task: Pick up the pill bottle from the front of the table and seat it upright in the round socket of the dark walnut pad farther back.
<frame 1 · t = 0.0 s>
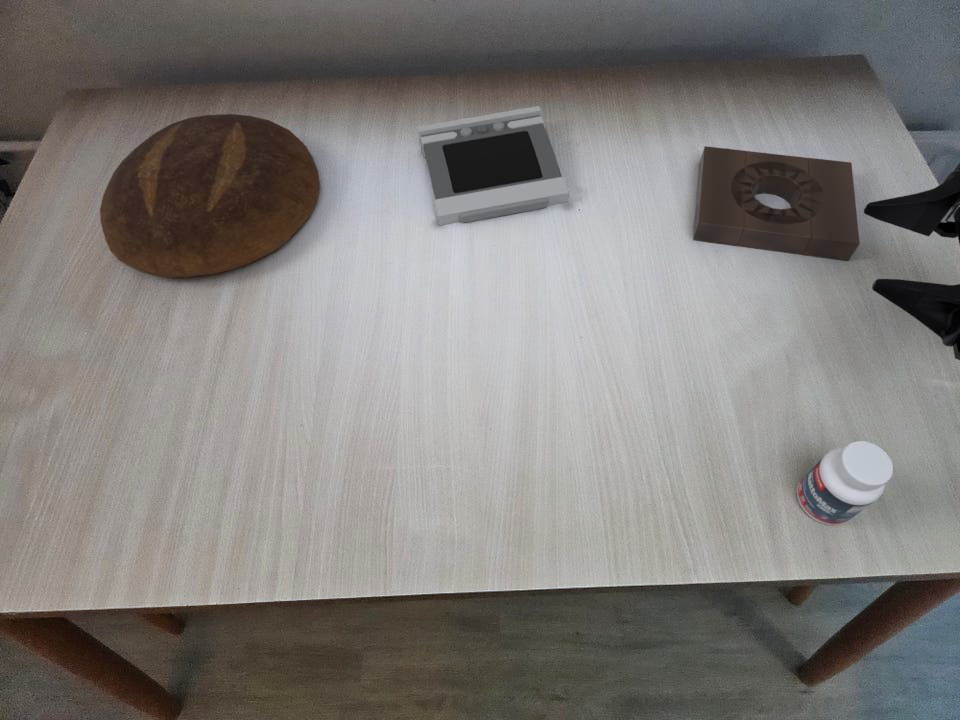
hand: (869, 244, 57), 16 cm above the table, tool horizontal, fingers open, 9 cm apart
pill bottle: (823, 500, 61), on the table
bread: (217, 210, 86), on the table
grey boxy piece: (491, 176, 87), on the table
socket pad: (769, 209, 81), on the table
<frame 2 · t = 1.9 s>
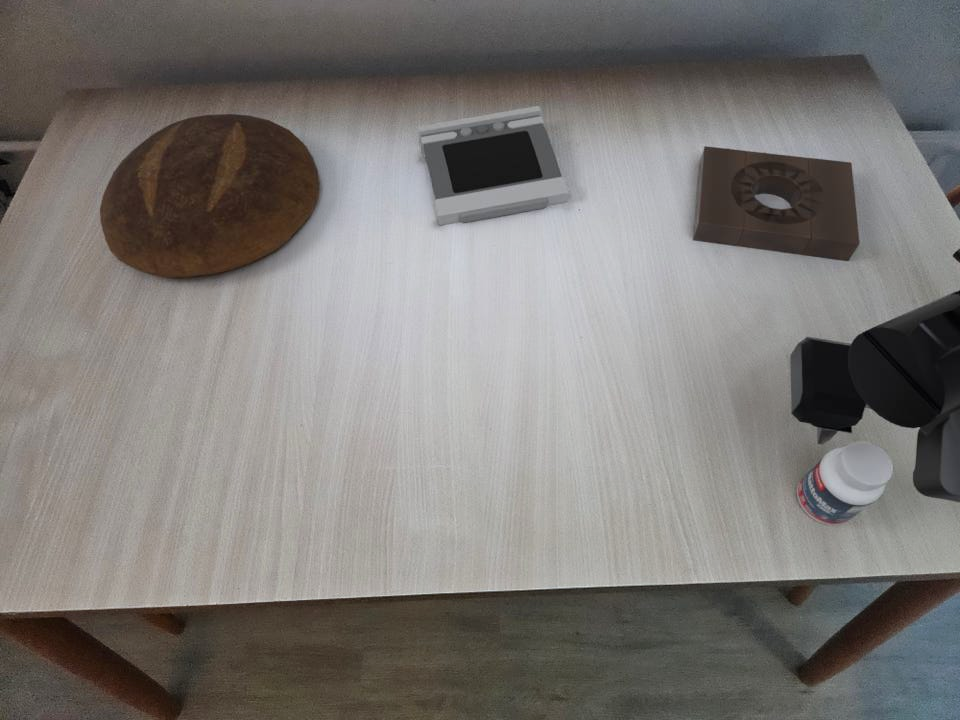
hand: (880, 450, 52), 11 cm above the table, tool pointing down, fingers open, 9 cm apart
nothing on the table moved.
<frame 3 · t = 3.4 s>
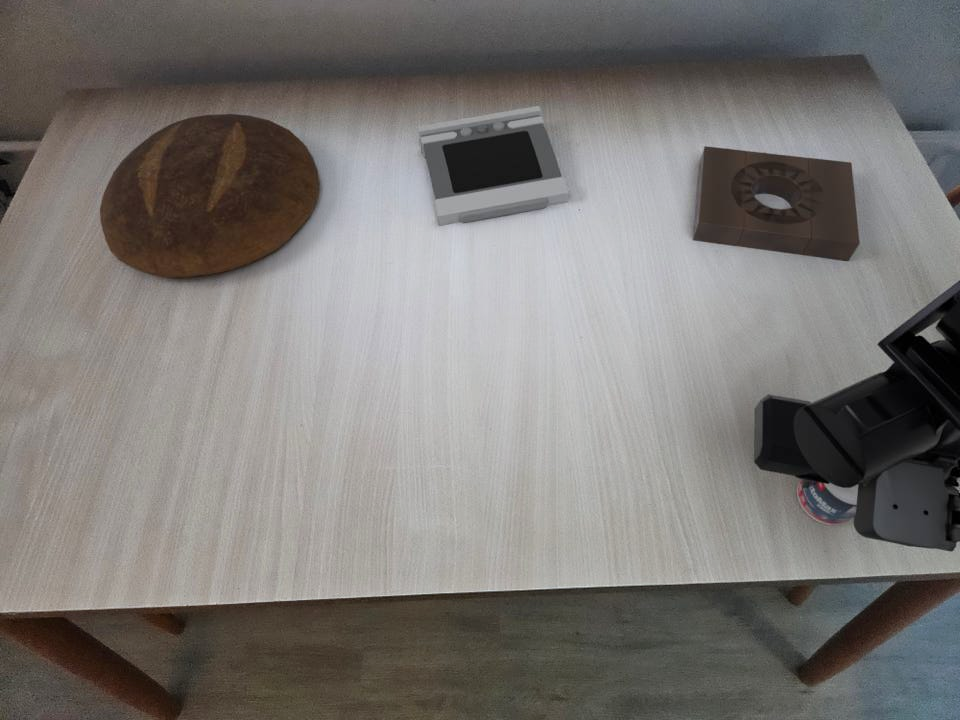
hand: (835, 489, 59), 3 cm above the table, tool pointing down, fingers closed on pill bottle, 5 cm apart
pill bottle: (823, 500, 61), on the table, touching gripper
everything else where it was.
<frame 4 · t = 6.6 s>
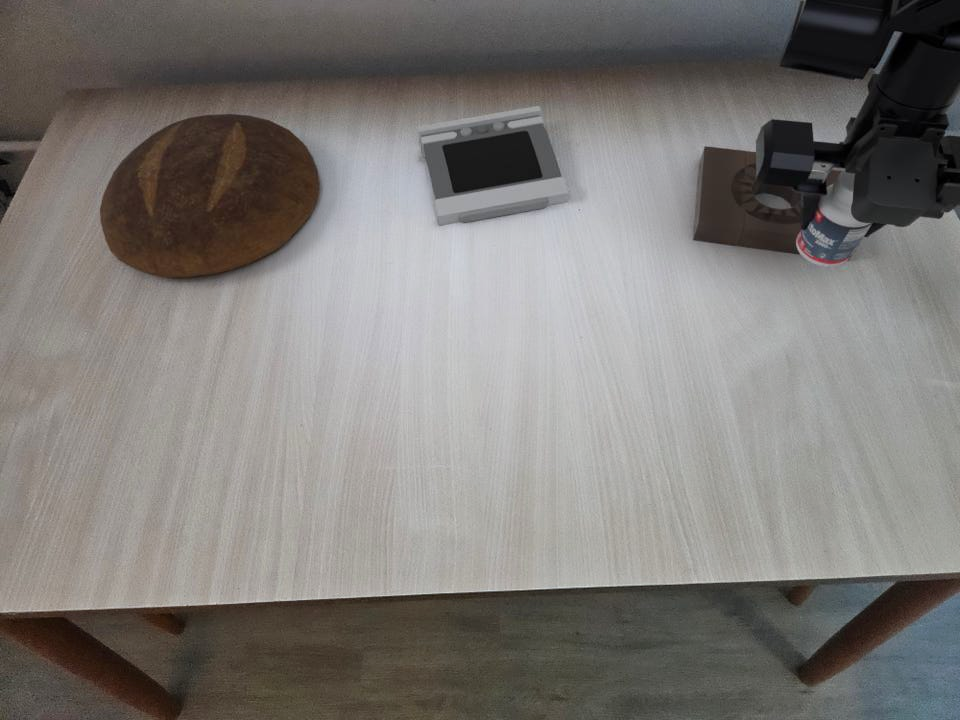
hand: (832, 230, 62), 13 cm above the table, tool pointing down, fingers closed on pill bottle, 5 cm apart
pill bottle: (821, 249, 65), point 10 cm above the table, touching gripper
everything else where it was.
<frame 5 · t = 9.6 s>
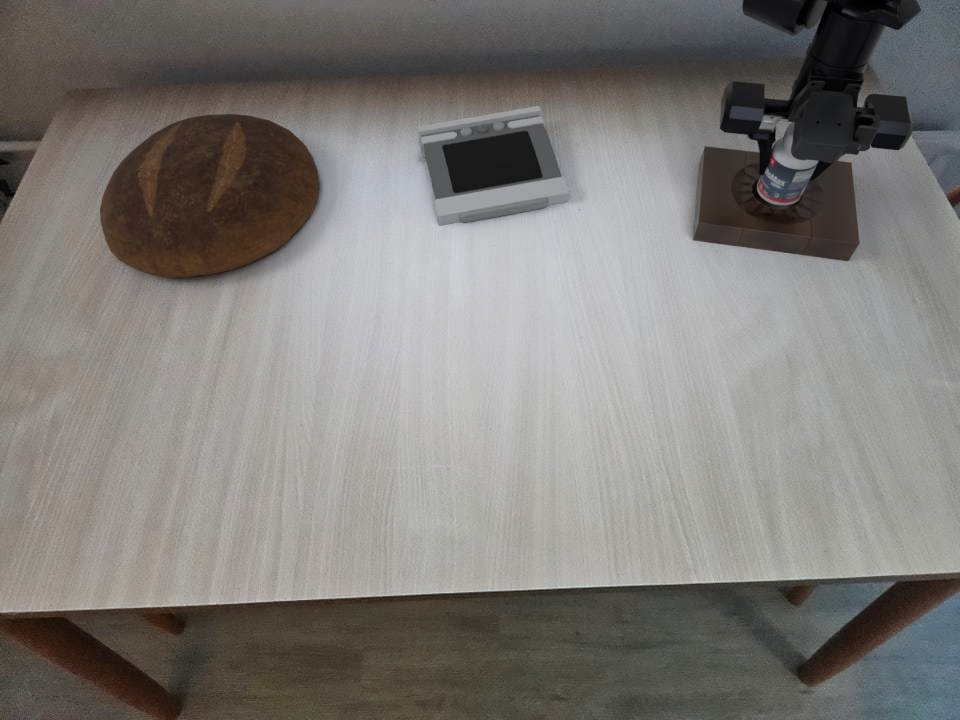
hand: (785, 175, 76), 6 cm above the table, tool pointing down, fingers closed on pill bottle, 5 cm apart
pill bottle: (777, 193, 79), point 3 cm above the table, touching gripper
everything else where it was.
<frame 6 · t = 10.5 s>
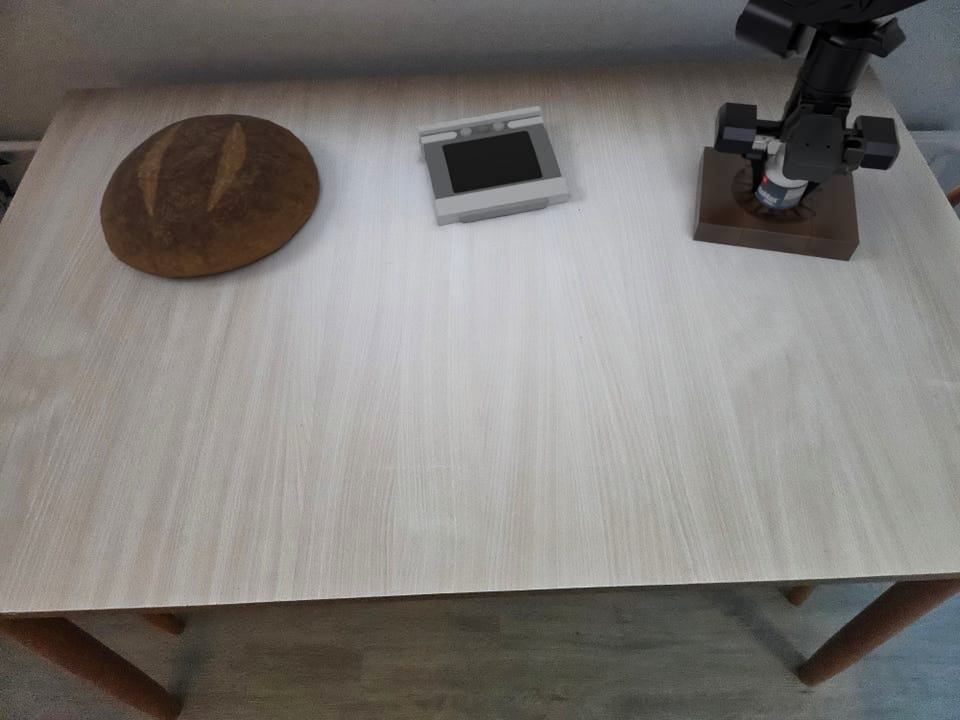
hand: (777, 192, 79), 3 cm above the table, tool pointing down, fingers closed on pill bottle, 5 cm apart
pill bottle: (770, 208, 81), resting in socket pad, touching gripper
everything else where it was.
when the fingers open (4 cm above the table, at t = 15.7 s): pill bottle drops 1 cm, resting in socket pad.
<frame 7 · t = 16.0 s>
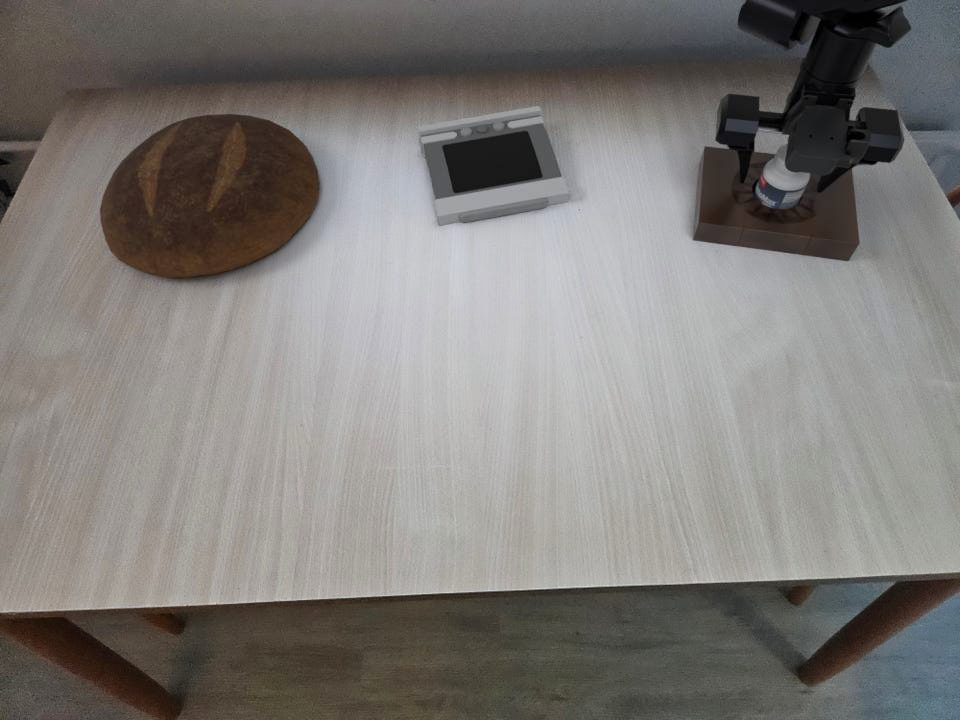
hand: (779, 185, 78), 4 cm above the table, tool pointing down, fingers open, 8 cm apart
pill bottle: (769, 211, 81), resting in socket pad
everything else where it was.
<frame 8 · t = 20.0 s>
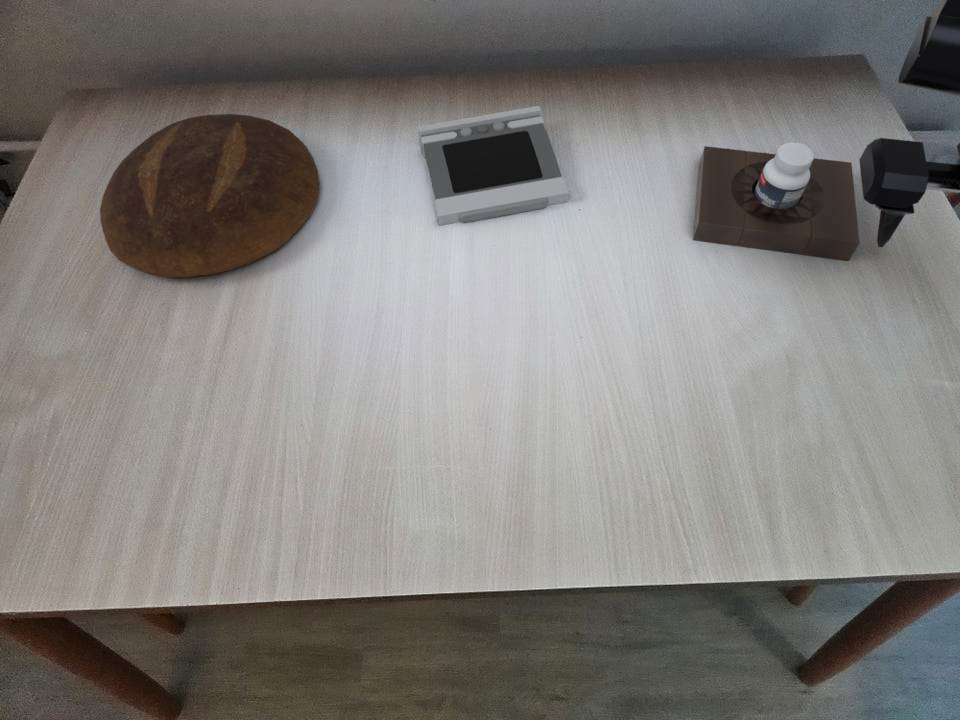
hand: (931, 250, 61), 12 cm above the table, tool pointing down, fingers open, 9 cm apart
nothing on the table moved.
at the end: pill bottle 0.1 cm off-centre in the socket pad, point 0.0 cm above the socket pad's base; pill bottle tilted 1° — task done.
